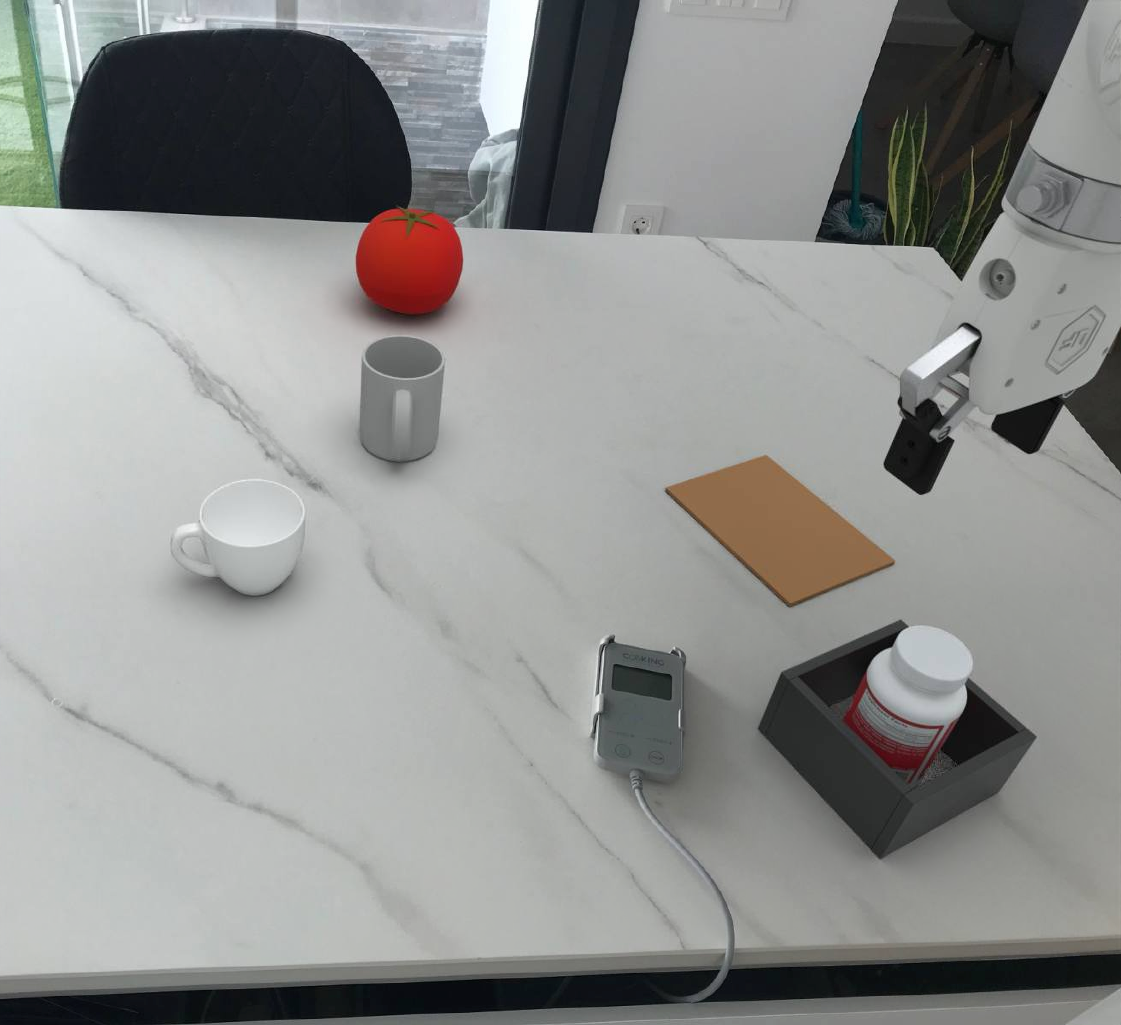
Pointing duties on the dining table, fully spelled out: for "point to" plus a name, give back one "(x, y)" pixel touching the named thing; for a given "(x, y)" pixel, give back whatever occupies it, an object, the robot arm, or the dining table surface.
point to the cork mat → (779, 529)
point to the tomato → (409, 260)
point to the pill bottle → (912, 699)
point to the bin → (860, 774)
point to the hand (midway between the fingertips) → (960, 460)
